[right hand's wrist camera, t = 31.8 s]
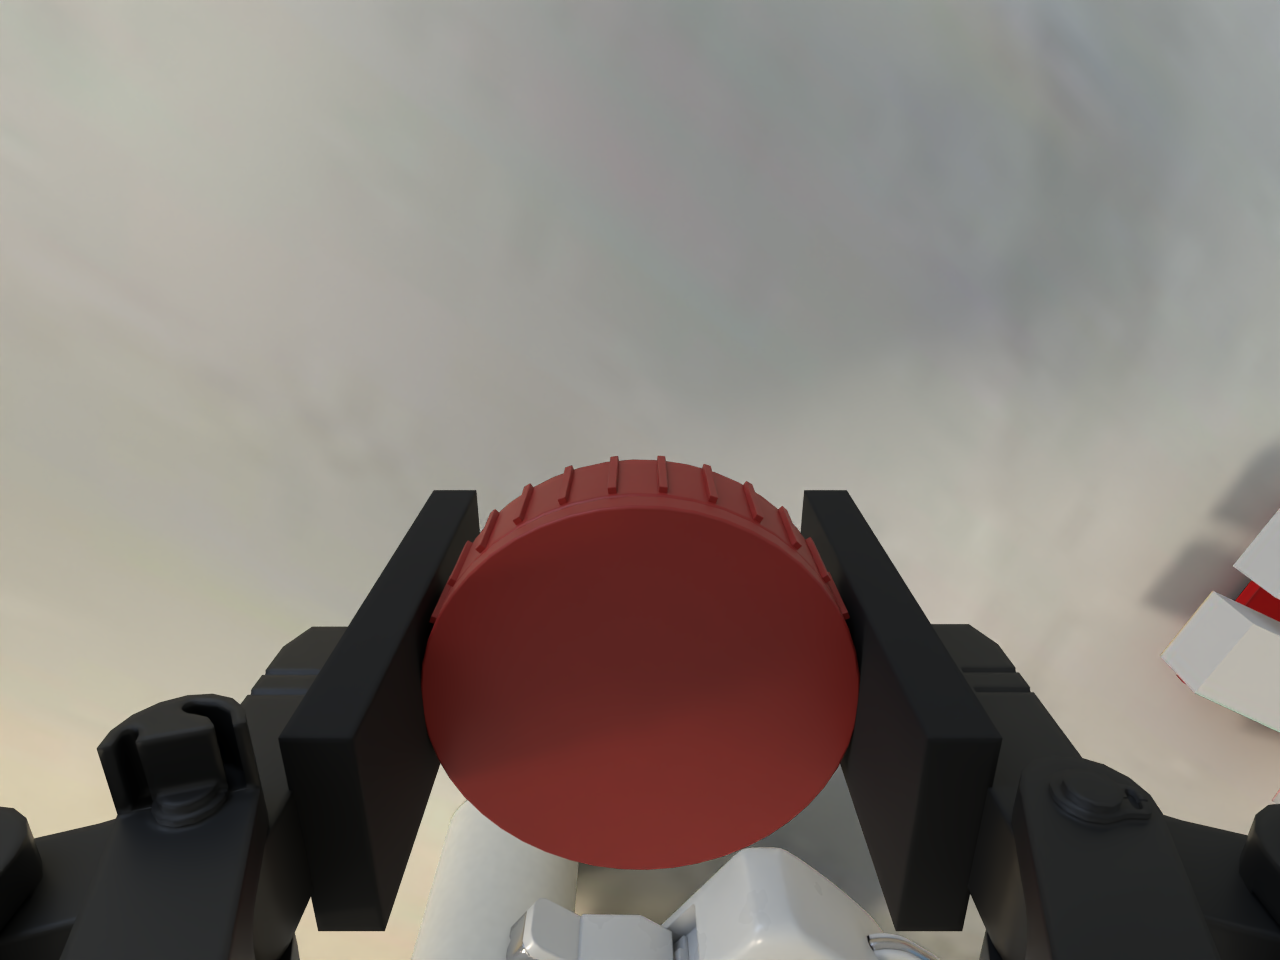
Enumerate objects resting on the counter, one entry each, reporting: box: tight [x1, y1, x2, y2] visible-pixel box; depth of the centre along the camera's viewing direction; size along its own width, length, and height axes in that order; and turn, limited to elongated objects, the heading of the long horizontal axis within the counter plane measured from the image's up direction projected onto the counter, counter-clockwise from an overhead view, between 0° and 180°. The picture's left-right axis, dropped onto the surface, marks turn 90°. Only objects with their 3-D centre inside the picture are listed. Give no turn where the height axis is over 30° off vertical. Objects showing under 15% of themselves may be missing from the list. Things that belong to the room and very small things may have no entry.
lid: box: [421, 456, 860, 870], centre depth 11 cm, size 6×6×2 cm
